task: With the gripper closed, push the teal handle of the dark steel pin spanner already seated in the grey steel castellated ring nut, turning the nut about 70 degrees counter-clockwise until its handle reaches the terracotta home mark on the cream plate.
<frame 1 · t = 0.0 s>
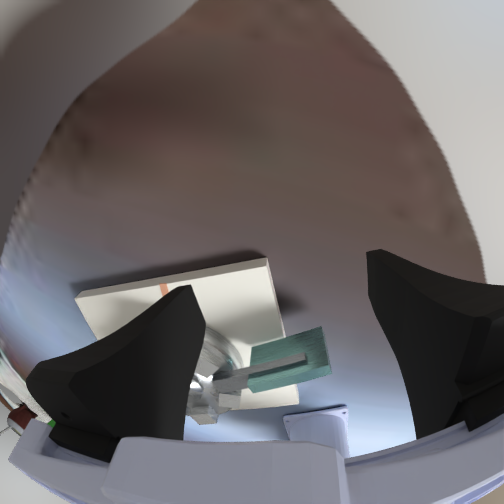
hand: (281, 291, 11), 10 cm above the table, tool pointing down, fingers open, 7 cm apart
ring nut: (216, 375, 22), point 4 cm above the table, hinge at 0.0°
base plate: (190, 350, 26), on the table
mate gourd: (27, 407, 43), on the table
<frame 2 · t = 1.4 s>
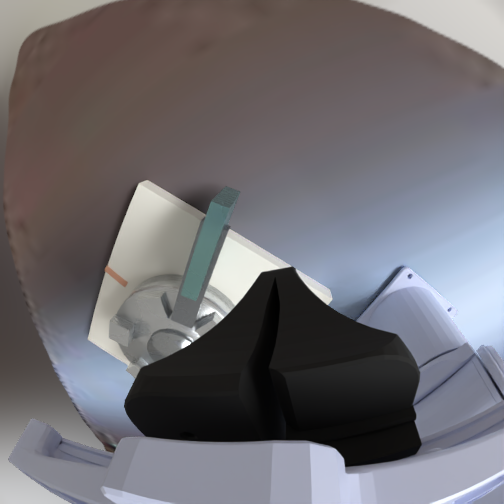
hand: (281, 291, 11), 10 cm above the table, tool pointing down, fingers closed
ring nut: (186, 314, 20), point 4 cm above the table, hinge at 0.0°
base plate: (189, 318, 25), on the table
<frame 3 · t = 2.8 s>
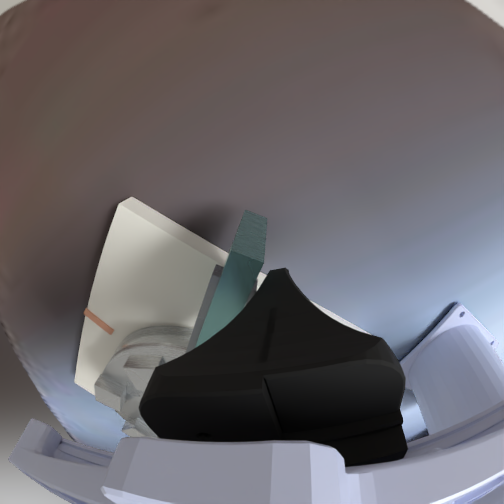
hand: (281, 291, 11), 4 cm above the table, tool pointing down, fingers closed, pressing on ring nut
ring nut: (192, 381, 14), point 4 cm above the table, hinge at 0.7°, touching gripper
base plate: (194, 368, 19), on the table
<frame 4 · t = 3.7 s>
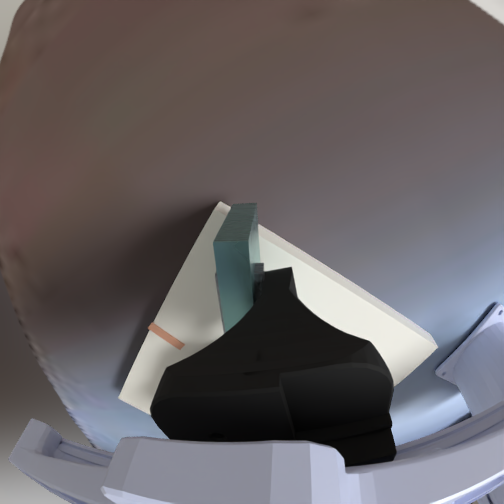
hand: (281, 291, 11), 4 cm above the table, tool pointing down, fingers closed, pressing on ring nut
ring nut: (255, 388, 14), point 4 cm above the table, hinge at 25.2°, touching gripper
base plate: (262, 376, 19), on the table
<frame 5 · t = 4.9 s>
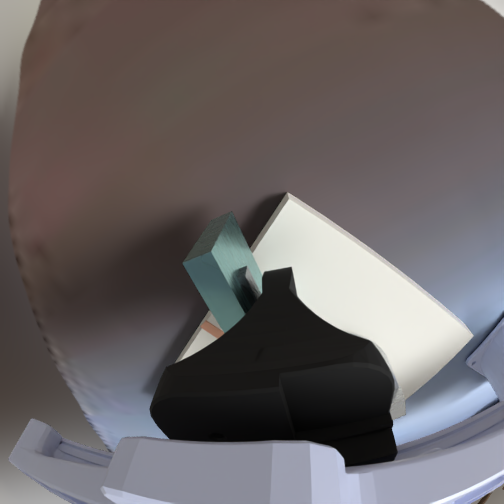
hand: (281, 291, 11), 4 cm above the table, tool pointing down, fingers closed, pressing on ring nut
ring nut: (295, 387, 13), point 4 cm above the table, hinge at 45.1°, touching gripper
base plate: (309, 372, 19), on the table
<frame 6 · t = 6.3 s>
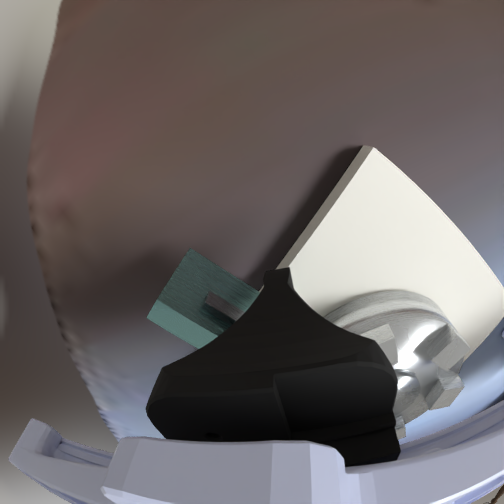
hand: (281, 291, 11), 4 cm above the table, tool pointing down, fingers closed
ring nut: (339, 371, 13), point 4 cm above the table, hinge at 76.8°, touching gripper
base plate: (366, 345, 17), on the table
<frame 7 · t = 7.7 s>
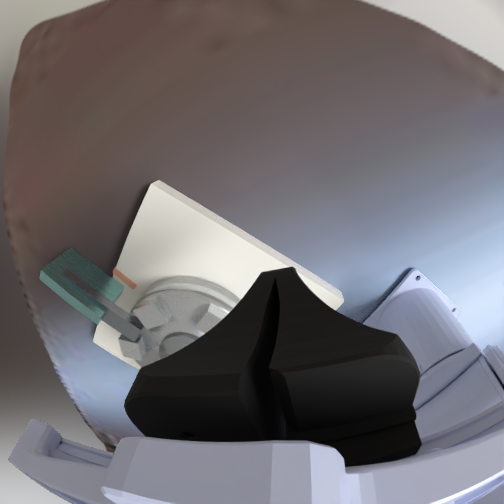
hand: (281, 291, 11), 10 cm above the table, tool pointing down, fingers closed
ring nut: (147, 326, 20), point 4 cm above the table, hinge at 77.0°
base plate: (198, 319, 25), on the table
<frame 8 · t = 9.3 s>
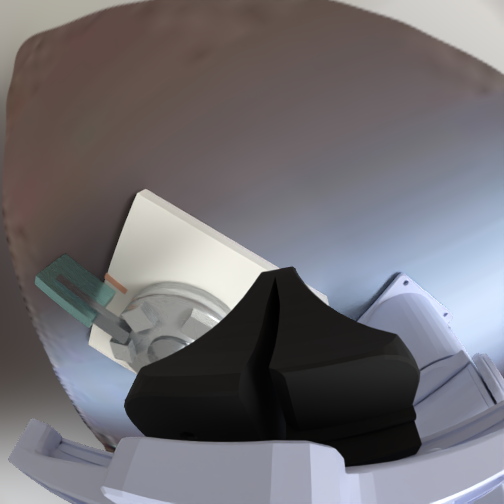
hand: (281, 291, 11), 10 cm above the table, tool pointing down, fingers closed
ring nut: (136, 329, 21), point 4 cm above the table, hinge at 77.0°
base plate: (188, 323, 25), on the table
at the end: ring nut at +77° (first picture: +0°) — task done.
